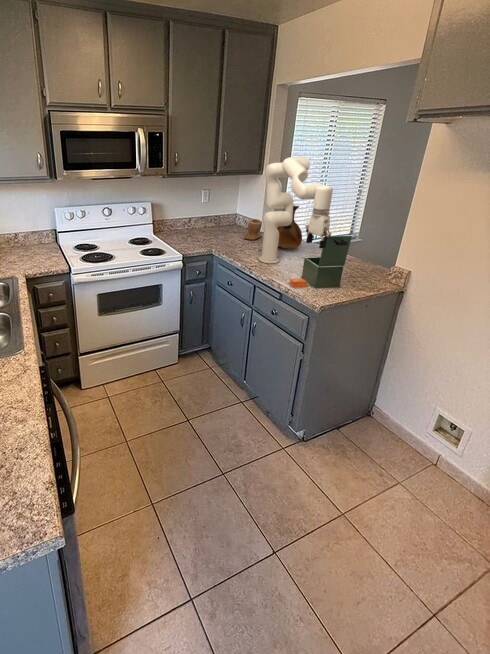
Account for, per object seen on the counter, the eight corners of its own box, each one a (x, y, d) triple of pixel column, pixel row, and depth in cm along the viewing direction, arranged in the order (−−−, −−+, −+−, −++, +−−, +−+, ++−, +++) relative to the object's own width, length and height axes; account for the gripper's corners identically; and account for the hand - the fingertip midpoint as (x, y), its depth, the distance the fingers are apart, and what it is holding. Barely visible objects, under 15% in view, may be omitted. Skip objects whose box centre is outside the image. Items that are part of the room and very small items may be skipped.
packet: (293, 287, 189) (294, 282, 187) (289, 283, 193) (290, 278, 192) (306, 286, 189) (306, 281, 188) (302, 283, 193) (302, 278, 192)
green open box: (301, 277, 202) (304, 257, 197) (324, 276, 203) (327, 256, 199) (315, 288, 187) (318, 267, 183) (339, 287, 189) (343, 266, 184)
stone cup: (255, 242, 266) (257, 222, 260) (241, 239, 273) (243, 219, 268) (264, 237, 276) (267, 218, 271) (251, 235, 284) (252, 216, 278)
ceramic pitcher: (302, 245, 259) (308, 203, 248) (299, 253, 242) (305, 209, 231) (274, 241, 266) (279, 201, 255) (269, 249, 249) (274, 206, 238)
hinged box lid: (325, 236, 176) (330, 240, 171) (351, 235, 177) (357, 239, 172) (318, 266, 183) (323, 270, 178) (343, 265, 184) (349, 269, 180)
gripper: (340, 214, 168) (333, 249, 174) (315, 208, 183) (310, 240, 189) (327, 215, 166) (321, 251, 172) (302, 209, 181) (298, 241, 187)
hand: (315, 245), depth 181 cm, fingers open, 9 cm apart
